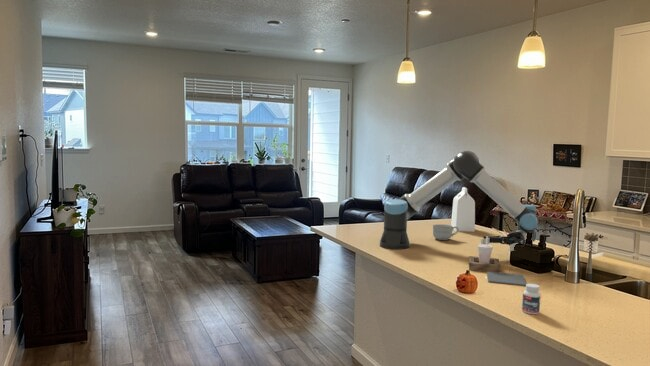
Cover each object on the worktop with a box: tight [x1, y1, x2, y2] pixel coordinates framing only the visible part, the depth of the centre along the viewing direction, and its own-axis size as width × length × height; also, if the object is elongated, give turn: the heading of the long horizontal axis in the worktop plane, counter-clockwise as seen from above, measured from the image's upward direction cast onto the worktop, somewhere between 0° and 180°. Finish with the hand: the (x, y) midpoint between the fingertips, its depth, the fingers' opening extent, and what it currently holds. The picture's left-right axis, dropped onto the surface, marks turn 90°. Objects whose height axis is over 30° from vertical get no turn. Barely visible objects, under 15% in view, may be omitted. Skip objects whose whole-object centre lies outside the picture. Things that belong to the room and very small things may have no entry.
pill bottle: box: [521, 283, 541, 315], centre depth 155 cm, size 5×5×9 cm
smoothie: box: [477, 235, 494, 264], centre depth 207 cm, size 6×6×14 cm
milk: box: [450, 186, 476, 232], centre depth 293 cm, size 12×12×26 cm
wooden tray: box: [468, 255, 501, 273], centre depth 208 cm, size 12×12×3 cm
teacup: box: [432, 223, 460, 241], centre depth 263 cm, size 14×11×8 cm
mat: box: [486, 271, 527, 287], centre depth 191 cm, size 14×14×1 cm
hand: (495, 245), depth 213 cm, fingers open, 13 cm apart
